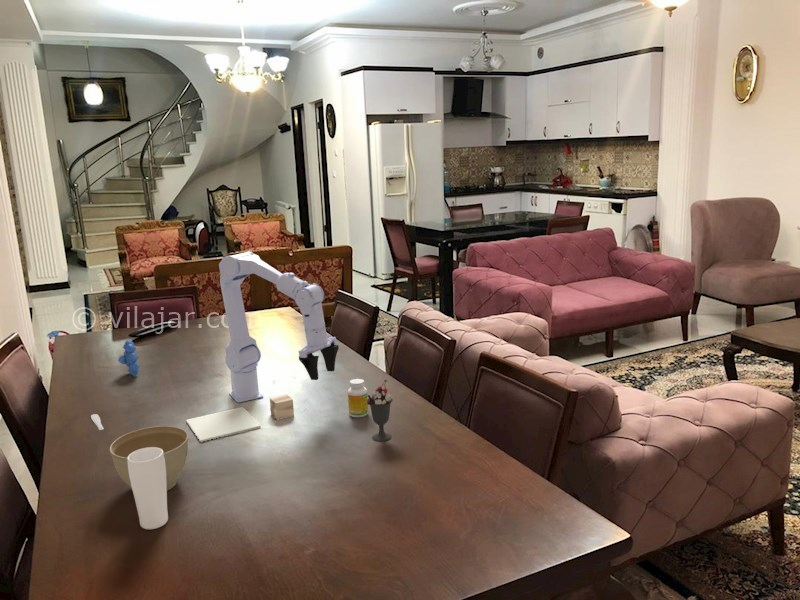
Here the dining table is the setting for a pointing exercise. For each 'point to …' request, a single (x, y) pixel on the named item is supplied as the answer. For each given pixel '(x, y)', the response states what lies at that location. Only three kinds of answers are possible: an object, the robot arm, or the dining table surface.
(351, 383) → the supplement bottle
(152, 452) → the drinking glass
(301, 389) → the dining table surface
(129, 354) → the grapes
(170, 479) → the planter bowl
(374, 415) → the sundae
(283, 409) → the cube
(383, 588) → the dining table surface
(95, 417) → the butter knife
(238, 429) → the pad
